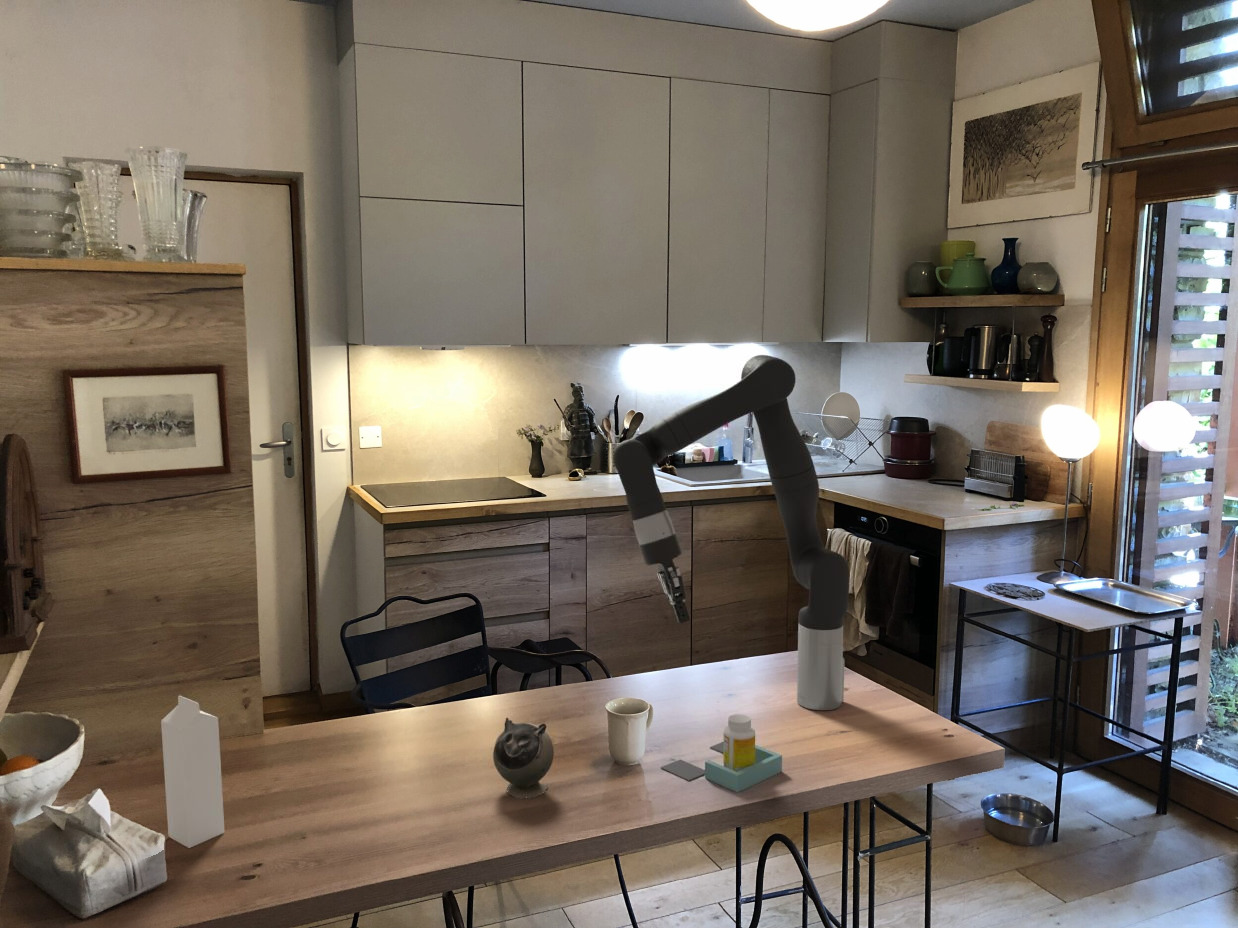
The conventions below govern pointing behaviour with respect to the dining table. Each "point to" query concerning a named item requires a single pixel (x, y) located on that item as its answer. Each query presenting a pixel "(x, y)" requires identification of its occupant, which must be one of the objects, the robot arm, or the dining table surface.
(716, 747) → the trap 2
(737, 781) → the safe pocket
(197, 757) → the milk
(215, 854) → the dining table surface
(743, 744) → the supplement bottle
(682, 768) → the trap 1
